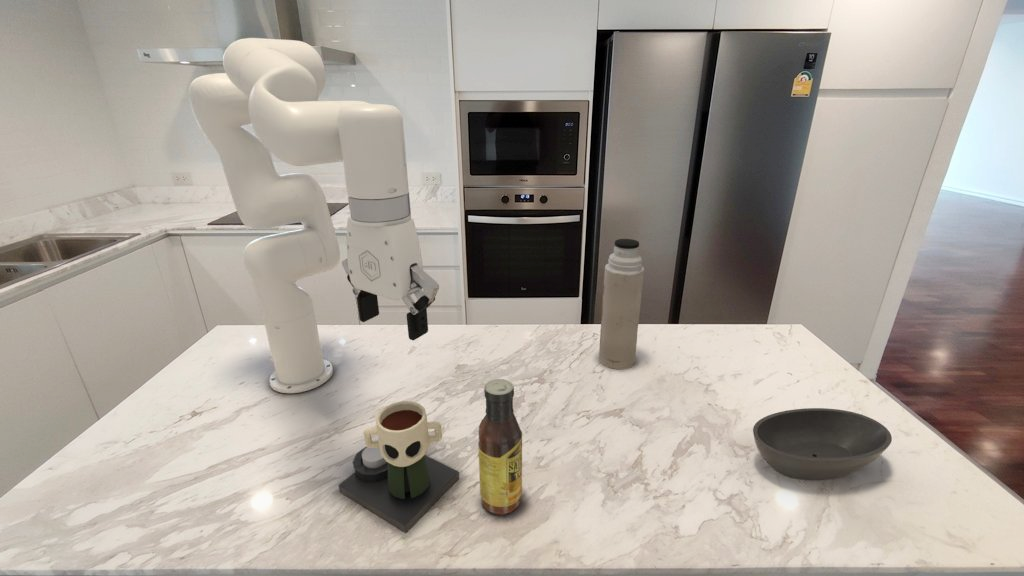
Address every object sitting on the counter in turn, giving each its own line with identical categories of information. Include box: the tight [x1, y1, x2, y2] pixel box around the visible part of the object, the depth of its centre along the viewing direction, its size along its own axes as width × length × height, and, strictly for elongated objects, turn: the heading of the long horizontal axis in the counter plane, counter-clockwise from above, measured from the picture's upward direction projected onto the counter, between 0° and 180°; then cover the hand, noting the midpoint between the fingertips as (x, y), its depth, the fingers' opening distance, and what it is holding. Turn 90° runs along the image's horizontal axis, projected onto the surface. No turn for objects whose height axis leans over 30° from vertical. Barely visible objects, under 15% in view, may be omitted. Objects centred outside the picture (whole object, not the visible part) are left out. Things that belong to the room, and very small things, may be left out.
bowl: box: [752, 407, 893, 482], centre depth 77 cm, size 12×22×6 cm, turn 99°
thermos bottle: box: [598, 238, 645, 370], centre depth 103 cm, size 8×8×28 cm
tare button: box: [362, 447, 387, 469], centre depth 76 cm, size 4×4×2 cm
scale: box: [338, 446, 460, 533], centre depth 75 cm, size 16×12×3 cm
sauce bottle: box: [478, 378, 523, 516], centre depth 68 cm, size 6×6×20 cm
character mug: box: [363, 400, 443, 499], centre depth 70 cm, size 11×7×13 cm, turn 98°
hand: (393, 326), depth 68 cm, fingers open, 9 cm apart
